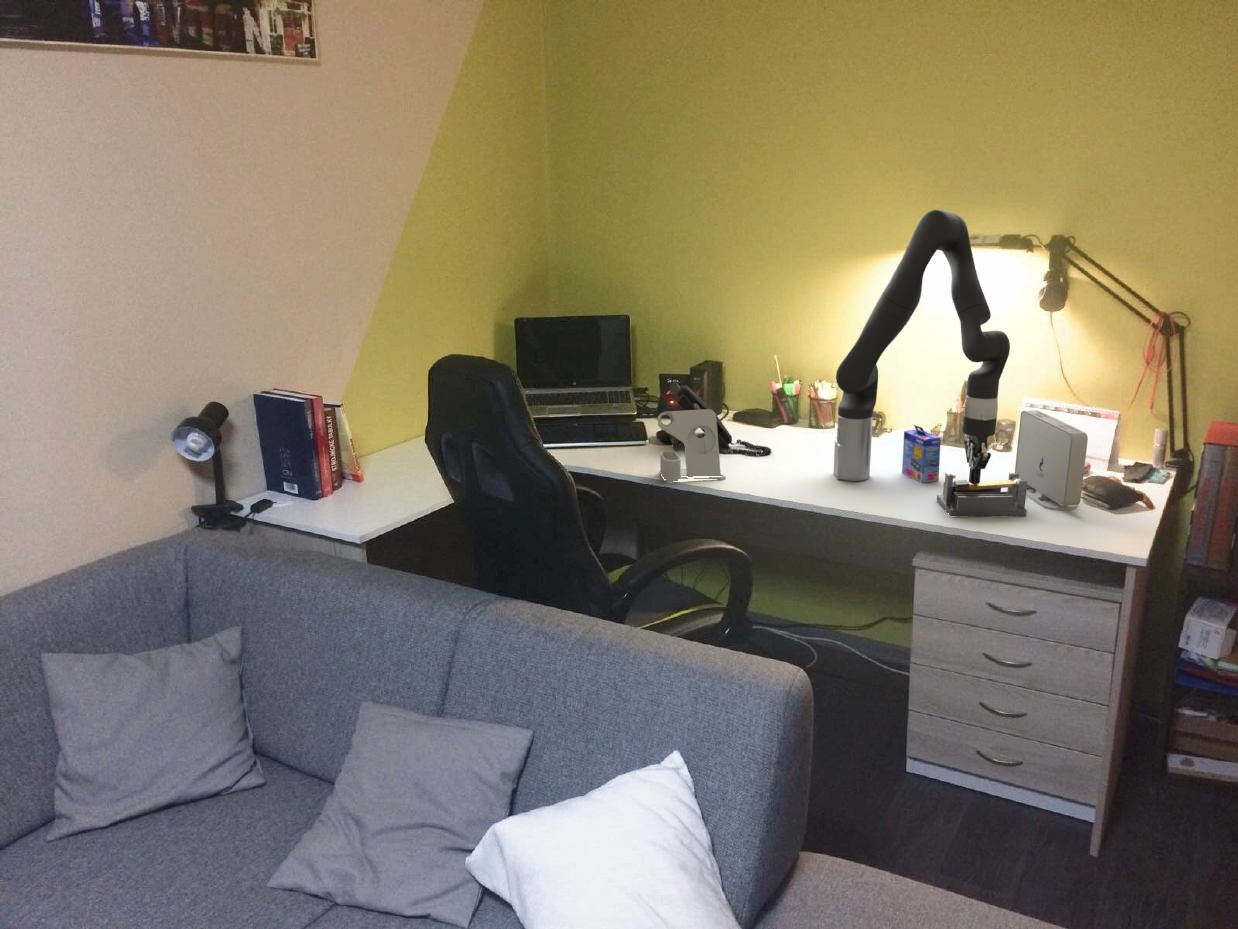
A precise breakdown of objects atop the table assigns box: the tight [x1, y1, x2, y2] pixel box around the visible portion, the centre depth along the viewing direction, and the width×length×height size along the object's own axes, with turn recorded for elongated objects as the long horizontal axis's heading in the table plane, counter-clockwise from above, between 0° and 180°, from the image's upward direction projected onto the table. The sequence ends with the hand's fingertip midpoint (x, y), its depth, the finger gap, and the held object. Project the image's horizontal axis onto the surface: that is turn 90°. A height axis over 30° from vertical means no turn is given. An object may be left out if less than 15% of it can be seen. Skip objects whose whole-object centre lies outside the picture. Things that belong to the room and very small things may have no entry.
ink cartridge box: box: [901, 424, 942, 483], centre depth 263 cm, size 10×6×14 cm, turn 19°
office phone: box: [668, 380, 772, 457], centre depth 297 cm, size 29×28×20 cm
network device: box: [1014, 409, 1089, 511], centre depth 244 cm, size 26×9×20 cm, turn 5°
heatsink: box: [936, 471, 1028, 518], centre depth 238 cm, size 18×12×9 cm, turn 88°
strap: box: [953, 477, 1020, 491], centre depth 238 cm, size 16×4×2 cm, turn 88°
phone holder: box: [657, 408, 727, 484], centre depth 267 cm, size 17×10×18 cm, turn 98°
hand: (974, 483), depth 238 cm, fingers closed
